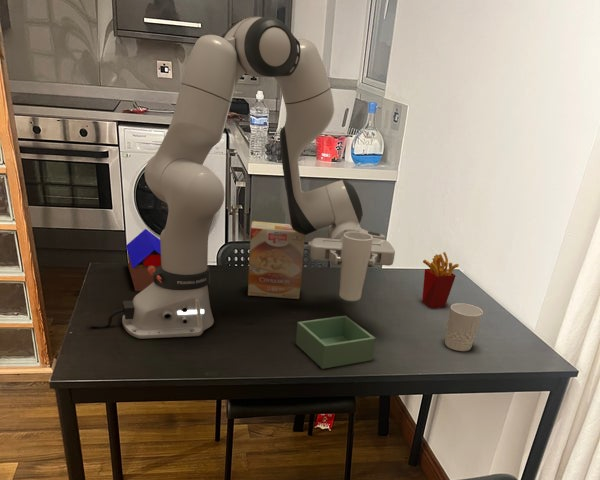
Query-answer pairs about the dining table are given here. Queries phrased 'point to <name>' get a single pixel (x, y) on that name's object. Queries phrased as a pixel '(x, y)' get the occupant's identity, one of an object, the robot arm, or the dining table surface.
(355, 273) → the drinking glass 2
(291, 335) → the dining table surface
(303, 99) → the robot arm
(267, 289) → the coffeecake box
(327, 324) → the tote
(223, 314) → the dining table surface
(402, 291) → the dining table surface
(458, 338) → the white cup
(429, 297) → the french fries
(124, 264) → the dining table surface
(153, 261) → the house
